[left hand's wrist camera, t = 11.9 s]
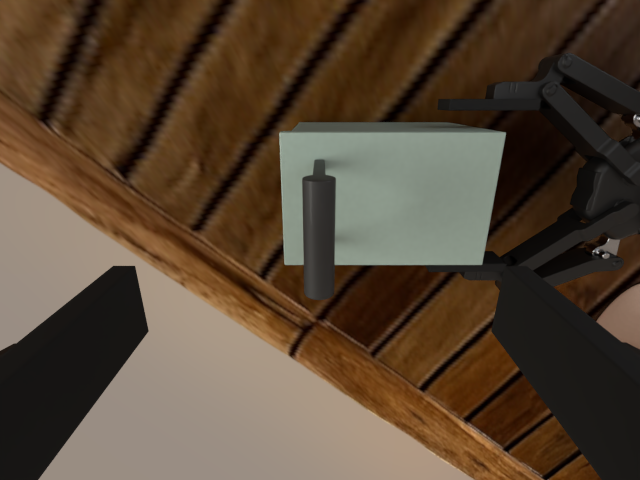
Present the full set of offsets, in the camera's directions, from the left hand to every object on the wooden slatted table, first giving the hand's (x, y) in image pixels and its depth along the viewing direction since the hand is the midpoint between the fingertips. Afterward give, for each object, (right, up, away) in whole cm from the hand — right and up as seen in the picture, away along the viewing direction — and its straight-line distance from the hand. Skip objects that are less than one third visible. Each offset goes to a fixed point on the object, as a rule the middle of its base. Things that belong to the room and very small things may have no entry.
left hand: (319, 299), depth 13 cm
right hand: (+9, +6, +16) cm, 20 cm away
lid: (+5, +5, +13) cm, 15 cm away
